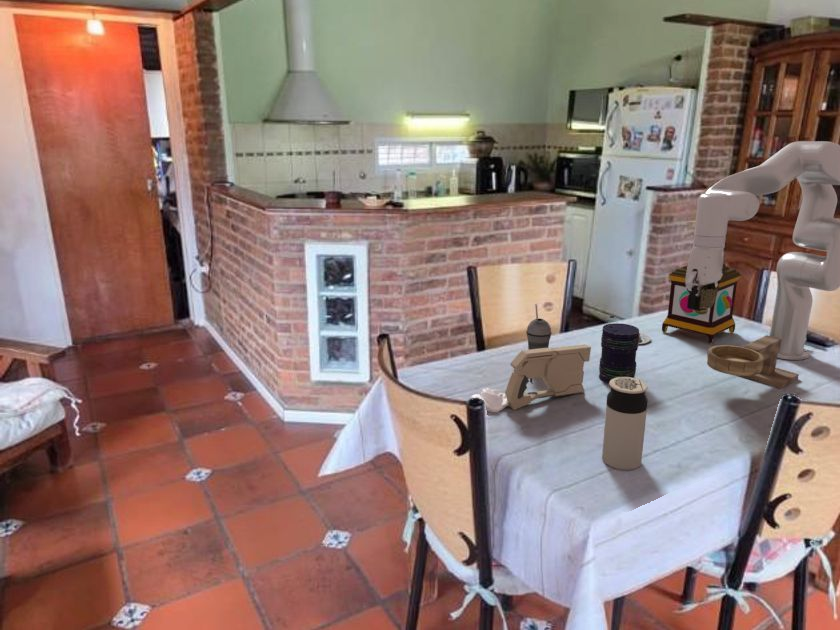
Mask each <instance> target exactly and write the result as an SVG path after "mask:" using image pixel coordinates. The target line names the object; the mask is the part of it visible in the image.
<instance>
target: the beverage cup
mask: <svg viewBox="0 0 840 630" xmlns="http://www.w3.org/2000/svg"><path fill="white" fill-rule="evenodd" d="M534 306H535V317H536V318H535V319H532V320H531V321H530V322H529V323H528V326H527V327H526V338H527V345H528V346H527V348H528V349H527V350H531V349H540V348H550V347H549V345H550V340H551V337H552V329H551V328H552V327H551V325H550V323H549V322H548V321H547V320H545V319H544V318H539V314H538V303H535V305H534Z"/></svg>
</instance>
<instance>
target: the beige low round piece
mask: <svg viewBox="0 0 840 630" xmlns="http://www.w3.org/2000/svg"><path fill="white" fill-rule="evenodd" d="M638 335H639V342H638V345H644V344H648V343H650V342H651V339H652V338H651V337H650V336H649V335H647V334H645V333H643V332H639V334H638ZM641 340H643V341H642V342H640V341H641Z"/></svg>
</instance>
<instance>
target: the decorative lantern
mask: <svg viewBox="0 0 840 630" xmlns="http://www.w3.org/2000/svg"><path fill="white" fill-rule="evenodd" d="M687 266H688V264H686V265H685V266H681V267H678V268H676V269H675V270H673V271H671V273H668V277H669V280H670V291H669V302H668V309H667V315H666V317H665V319H664V320H663V322H662V324H661V331H662V333H664V334H665V333H667V331H668V327H670V328H674V329H679V330H682V331H687V332H691V333H694V334H699V335H702V336H705V337H707V343H708V345H711V344H712V343H713V341H714V337H716V335H719V334H721V333H723V332H725V331H727V330H728V332H729V334H734V332H735V330H736V322H735V320H734V317H733V314H734V313H733V312H734V305H735V299H736V293H737V284H738V281H739V280H740V279H741V277H742V274H741V273H740V272H739V271H738V270H736V268H733V267H732V268H731V267H729V266H728V265H726V264H725V263H723V267H722V273H723V275H722V277H721V279H720V283H719V284H718V286H719V288H718V292H717V296H716V301H715V305H713V306H712V307H710V308H708V312H707V313H706V314H696V313H694V312H693V309H688V308H687V304H688V290H687V287H686V285H685V283H686V272H687ZM698 283H699V282H698Z"/></svg>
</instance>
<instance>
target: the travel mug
mask: <svg viewBox="0 0 840 630" xmlns="http://www.w3.org/2000/svg"><path fill="white" fill-rule="evenodd" d="M608 385H609V387H610V391H609V392H608V393H607V395H606V403H605V405H606V406H605V416H604V417H605V418H604V427H603V428H604V429H603V439H602V441H603V442H602V453H601V456H602V457H601V458H602V461H603V462H604V463H605V464H607V465H609V467H612V468H615V469H618V470H624V471H625V470H627V471H628V470H635V469H637V468H639V467H640V466H641V465H642V460H643V458H642V457H643V451H644V439H645V432H646V421H647V411H648V402H649V400H648V398H647V395H646V392H647V390H648V388H649V385H648V383H646V382H645V381H644V380H642V379H638V378H636V377H634V378H631V377H617V378H614V379H612V380H610V382H609V384H608Z"/></svg>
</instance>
